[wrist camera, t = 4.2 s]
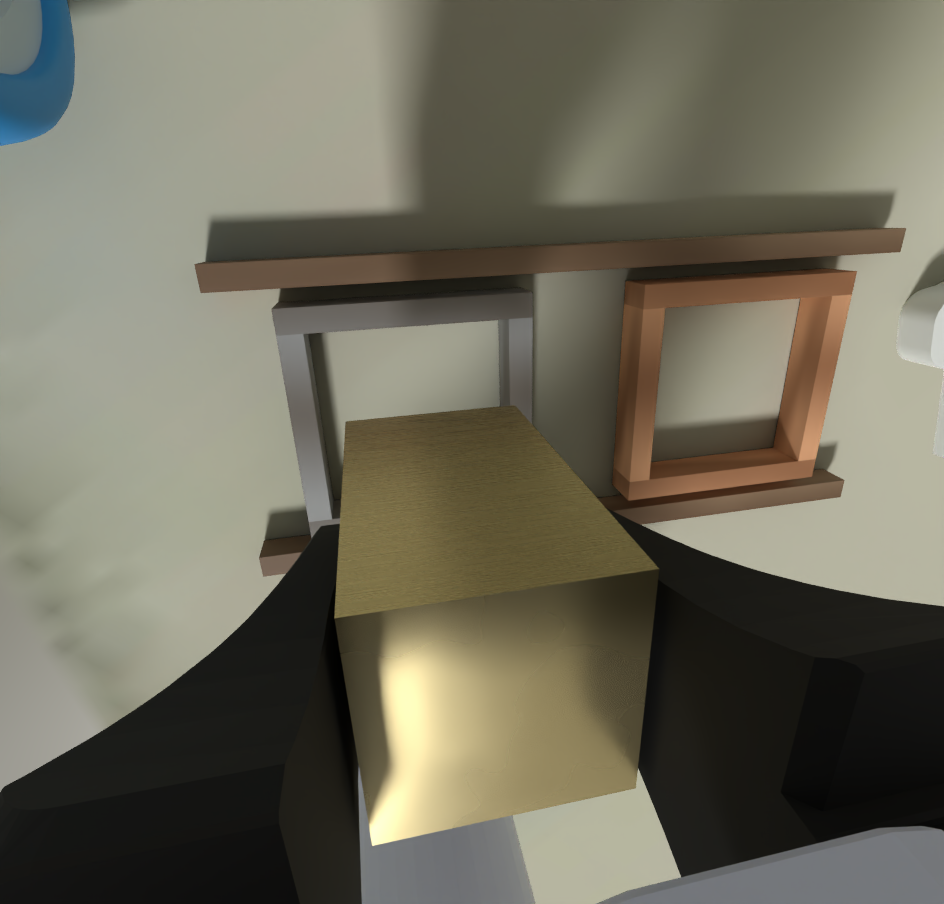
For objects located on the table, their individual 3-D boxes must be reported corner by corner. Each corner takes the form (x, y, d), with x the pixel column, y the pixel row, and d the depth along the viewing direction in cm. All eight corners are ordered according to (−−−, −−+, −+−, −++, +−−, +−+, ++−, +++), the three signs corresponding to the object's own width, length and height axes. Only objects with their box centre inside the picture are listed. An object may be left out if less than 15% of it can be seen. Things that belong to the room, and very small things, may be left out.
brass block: (516, 547, 15) (635, 788, 8) (365, 568, 14) (372, 846, 8) (514, 405, 13) (658, 568, 7) (345, 421, 13) (334, 618, 6)
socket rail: (819, 485, 25) (845, 499, 24) (268, 558, 21) (262, 581, 20) (877, 228, 21) (913, 228, 20) (205, 261, 17) (191, 265, 16)
